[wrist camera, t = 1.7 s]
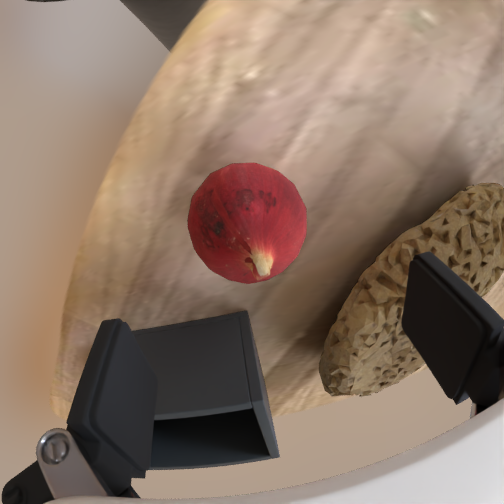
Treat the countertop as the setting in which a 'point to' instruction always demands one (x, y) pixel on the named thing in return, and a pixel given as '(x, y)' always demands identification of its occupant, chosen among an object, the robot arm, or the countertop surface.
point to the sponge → (394, 290)
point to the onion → (247, 222)
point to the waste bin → (208, 394)
